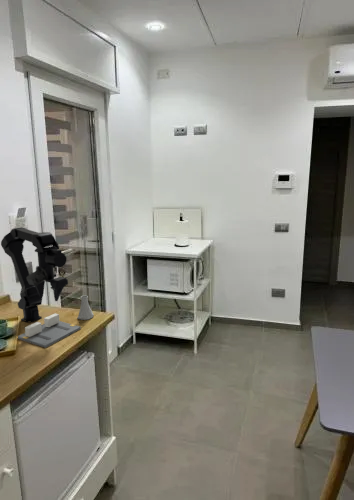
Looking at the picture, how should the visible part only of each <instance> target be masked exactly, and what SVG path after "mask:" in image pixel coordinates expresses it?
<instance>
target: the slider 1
mask: <svg viewBox="0 0 354 500" xmlns="http://www.w3.org/2000/svg"><path fill="white" fill-rule="evenodd" d="M41 325H42V322H40V321H36V322H33V323H30V324H29V325H27V326H25V327H24V331H25V332H24V333H25V334H26V336H28V337H31V336H33V335H35V334H37V333H39V332H41V331H42V327H41Z"/></svg>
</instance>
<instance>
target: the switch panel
mask: <svg viewBox="0 0 354 500" xmlns="http://www.w3.org/2000/svg"><path fill="white" fill-rule="evenodd" d="M59 321H60V322H59V323H57V324H55V325H53V326H51V327H46V326H45V323H43V324H41V327H42V331H41V332H39V333H37V334H35V335H33V336H31V337H28V336H26V334H25V332H24V333H22V334H19V335H17V336H18V340H20V341H23V342H25V343H28V344H31V345H32V344H33V345H35V346H39V347H42V348H45V349H46V348H48V347H50V346H52V345H54V344H56V343H58V342H59V341H61V340H63V339H65V338H67V337H69V336H71V335H72V334H74V333H76V332H78V331H79V330H81V329H82V327H81V326H80V325H77V324H76V325H75V324H71V323H68V322H64V321H61V320H59Z"/></svg>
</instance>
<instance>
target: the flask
mask: <svg viewBox="0 0 354 500" xmlns="http://www.w3.org/2000/svg"><path fill="white" fill-rule="evenodd" d="M88 298H89V296H88V295H81V296H80V299H81V302H80V303H81V304H80V309H79V312H78V315H77V319H78V320H81V321H83V320H84V321H86V320H90V319H92V318H94V313H93V310H92V309H91V307H90V304H89V301H88Z"/></svg>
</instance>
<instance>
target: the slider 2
mask: <svg viewBox="0 0 354 500" xmlns="http://www.w3.org/2000/svg"><path fill="white" fill-rule="evenodd" d="M43 319H44V320H43V321H44V323H43V324H45V326H46V327H51V326H53V325H55V324H57V323H59V322H60V321H61V320H60V314H59V313H53V314H50V315H48V316H46V317H43Z"/></svg>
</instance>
